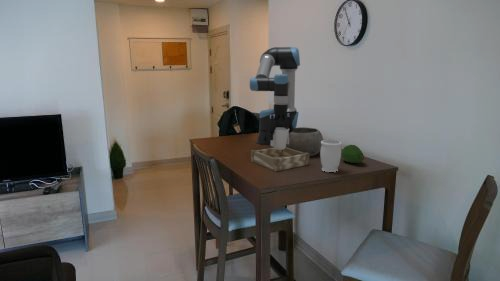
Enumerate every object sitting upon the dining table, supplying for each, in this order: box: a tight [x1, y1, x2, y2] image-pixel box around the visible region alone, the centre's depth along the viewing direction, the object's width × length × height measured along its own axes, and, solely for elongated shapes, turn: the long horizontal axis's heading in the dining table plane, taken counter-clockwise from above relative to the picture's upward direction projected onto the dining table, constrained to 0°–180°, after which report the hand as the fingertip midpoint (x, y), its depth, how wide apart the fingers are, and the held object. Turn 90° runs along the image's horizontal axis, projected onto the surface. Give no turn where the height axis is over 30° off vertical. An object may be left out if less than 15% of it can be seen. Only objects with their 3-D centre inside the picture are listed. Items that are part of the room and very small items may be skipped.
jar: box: [319, 139, 343, 173], centre depth 175 cm, size 11×10×15 cm
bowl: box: [286, 127, 324, 158], centre depth 210 cm, size 23×23×15 cm
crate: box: [250, 147, 310, 172], centre depth 189 cm, size 23×23×6 cm
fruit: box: [341, 144, 365, 164], centre depth 190 cm, size 15×10×10 cm, turn 15°
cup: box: [273, 127, 289, 150], centre depth 187 cm, size 10×10×11 cm
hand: (279, 144), depth 188 cm, fingers closed on cup, 9 cm apart
